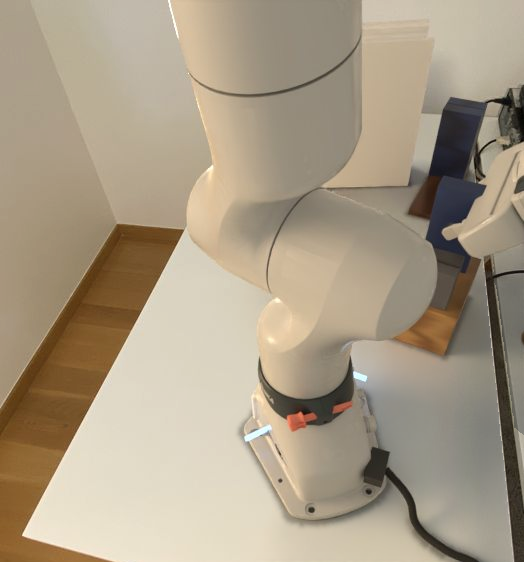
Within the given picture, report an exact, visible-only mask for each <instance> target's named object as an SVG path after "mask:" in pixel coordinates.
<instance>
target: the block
mask: <svg viewBox="0 0 524 562" xmlns="http://www.w3.org/2000/svg"><path fill="white" fill-rule="evenodd" d="M429 28H430V19H429V18H424V19H409V20H408V19H407V20H389V21H387V20H386V21H371V22H362V131H361V135H360V138H359V141H358V144H357V146H356V149H355V151H354V153H353V155H352V157H351V158H350V160H349V161H348V163H347V164H346V166H345V167H344V168H343V169H342V170H341V171H340V172H339V173H338V174H337V175H336V176H335V177H334V178H332V179H331V180H329V181H328V182H326V183H325V184H323V185H321V186H322V187H324V188H326V189H328V188H330V189H333V188H334V189H335V188H370V187H373V188H374V187H408V186H409V183H410V178H411V173H412V172H411V171H412V166H413V160H414V155H415V149H416V144H417V138H418V132H419V129H420V122H421V117H422V112H423V106H424V101H425V95H426V90H427V84H428V80H429V74H430V70H431V63H432V57H433V53H434V47H435V41H436V38H435V37H434V36H431V37H428V33H429Z"/></svg>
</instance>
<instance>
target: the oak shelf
mask: <svg viewBox="0 0 524 562" xmlns="http://www.w3.org/2000/svg"><path fill="white" fill-rule="evenodd" d="M482 260H483V259H482V258H475V257H471V260H470V263H469V265H468V267H467V270H466V272H465V274H464V273H461V272H460V273H459V276H458V279H457V282H456V285H455V288H454V291H453V294H452V296H451V299H450V301H449V303H448V305H447V308H446V310H445V311H443V310H440V309H437V308H433V307H430V306H428V308H427V310H426V311H425V313H424V314H423V315H422V316H421V318H420V319H419V320H418V321H417V322H416V323H415V324H414V325H413V326H412V327H410V328H409V329H407V330H406V331H405V332H403V333H401V334H399V335H397V336H395V337H393V338H392V339H395V340H397V341H401V342H403V343H406V344H409V345H412V346H415V347H417V348H420V349H424V350H426V351H430V352H432V353H435V354H438V355H441V356H443V357H444V356H445V355H446V354H445V353H446V351H447V350H448V348H449V344H450V342H451V339H452V337H453V334H454V333H455V330H456V327H457V324H458V321H459V319H460V317H461V315H462V312H463V310H464V307H465V306H466V305H465V304H466V302H467V299H468V297H469V295H470V292H471V289H472V287H473V284H474V281H475V279H476V276H477V273H478V272H479V271H478V270H479V268H480V265H481V262H482Z"/></svg>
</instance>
